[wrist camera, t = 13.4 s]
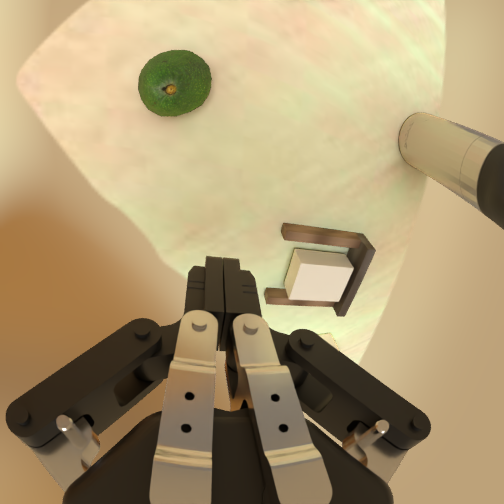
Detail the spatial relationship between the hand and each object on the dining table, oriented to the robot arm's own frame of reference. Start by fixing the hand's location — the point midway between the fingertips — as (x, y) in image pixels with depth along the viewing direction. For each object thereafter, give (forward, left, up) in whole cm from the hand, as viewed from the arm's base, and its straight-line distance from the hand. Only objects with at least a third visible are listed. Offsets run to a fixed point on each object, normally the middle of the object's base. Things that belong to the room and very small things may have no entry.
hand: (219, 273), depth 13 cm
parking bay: (-18, +17, -27) cm, 37 cm away
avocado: (+6, -8, -27) cm, 29 cm away
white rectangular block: (-18, +17, -27) cm, 37 cm away
